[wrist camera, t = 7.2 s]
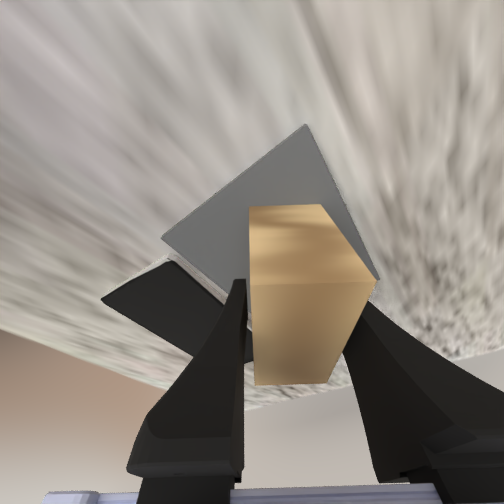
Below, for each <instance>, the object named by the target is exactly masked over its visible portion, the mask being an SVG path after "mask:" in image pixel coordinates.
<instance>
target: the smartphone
mask: <svg viewBox="0 0 504 504" xmlns="http://www.w3.org/2000/svg"><path fill="white" fill-rule="evenodd" d="M163 259H164V260H163ZM101 300H102V302H103V303H104V304H106V305H107V306H109V307H111V308H112V309H114V310H116V311H117V312H119V313H121V314H122V315H124V316H126V317H127V318H129V319H131V320H132V321H134V322H136V323H137V324H139V325H141V326H143V327H144V328H146V329H148V330H149V331H151V332H153V333H154V334H156V335H158V336H159V337H161V338H163V339H164V340H166V341H168V342H169V343H171V344H173V345H174V346H176V347H178V348H179V349H181V350H183V351H184V352H186V353H188V354H189V355H191V356H193V357H194V356H195V354H196V353H197V352H198V350H199V349H200V347H201V346H202V344H203V343H204V341H205V340H206V338H207V336H208V335H209V333H210V331H211V330H212V328H213V326H214V324H215V322H216V321H217V319H218V317H219V315H220V313H221V311H222V309H223V307H224V305H225V302H226V299H225V298H223V297H222V296H221V295H220V294H219V293H218V292H217V291H216V290H214V289H213V288H212V287H211V286H210V285H209V284H208V283H207V282H205V281H204V280H203V279H202V278H201V277H200V276H199V275H198V274H196V273H195V272H194V271H193V270H192V269H191V268H190V267H189V266H188V265H186V264H185V263H184V262H183V261H182V260H181V259H180V258H179V257H177V256H175V255H173V254H167V255H165V256H163V257H162V258H160V259H159V260H157V261H155V262H154V263H152V264H151V265H149V266H147V267H146V268H144V269H143V270H141V271H139V272H138V273H136V274H135V275H133V276H131V277H130V278H128V279H127V280H125V281H123V282H122V283H120V284H119V285H117V286H115V287H114V288H112V289H111V290H109V291H107V292H106V293H105V294H104V295H103V297H102V298H101ZM252 361H254V357H253V336H252V322H250V321H249V320H248V322H247V334H246V346H245V358H244V364H245V363H248V362H252Z"/></svg>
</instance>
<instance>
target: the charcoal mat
mask: <svg viewBox="0 0 504 504" xmlns="http://www.w3.org/2000/svg"><path fill="white" fill-rule="evenodd" d="M309 204H321V205H322V207H323V208H324V209H325V211H326V212H327V214H328V215H329V216H330V218H331V219H332V220H333V222H334V223H335V224H336V226H337V227H338V229H339V230H340V231H341V233H342V234H343V235H344V237H345V238H346V240H347V241H348V242H349V244H350V245H351V246H352V248H353V249H354V250H355V252H356V253H357V255H358V256H359V257H360V259H361V260H362V261H363V263H364V264H365V266H366V267H367V268H368V270H369V271H370V272H371V274H372V275H373V276H374V278H375V279H376V281H378V280H380V278H379V276H378V274H377V271H376V269H375V267H374V265H373V263H372V261H371V259H370V257H369V254H368V252H367V250H366V248H365V246H364V244H363V242H362V240H361V238H360V235H359V233H358V231H357V229H356V227H355V225H354V223H353V221H352V218H351V216H350V214H349V212H348V210H347V208H346V206H345V204H344V201H343V199H342V197H341V195H340V193H339V191H338V189H337V187H336V185H335V182H334V180H333V178H332V176H331V174H330V172H329V170H328V168H327V165H326V163H325V161H324V159H323V157H322V155H321V153H320V151H319V149H318V146H317V144H316V142H315V140H314V138H313V136H312V134H311V132H310V129H309V127H308V125H307V124H304V125H303V126H302V127H300V128H299V129H298V130H297V131H295V132H294V133H293V134H292V135H290V136H289V137H288V138H286V139H285V140H284V141H283V142H281V143H280V144H279V145H277V146H276V147H275V148H274V149H272V150H271V151H270V152H268V153H267V154H266V155H265V156H263V157H262V158H261V159H260V160H258V161H257V162H256V163H254V164H253V165H252V166H251V167H249V168H248V169H247V170H245V171H244V172H243V173H242V174H240V175H239V176H238V177H236V178H235V179H234V180H233V181H231V182H230V183H229V184H228V185H226V186H225V187H224V188H222V189H221V190H220V191H219V192H217V193H216V194H215V195H213V196H212V197H211V198H210V199H208V200H207V201H206V202H204V203H203V204H202V205H201V206H199V207H198V208H197V209H195V210H194V211H193V212H192V213H190V214H189V215H188V216H187V217H185V218H184V219H183V220H181V221H180V222H179V223H178V224H176V225H175V226H174V227H172V228H171V229H170V230H169V231H167V232H166V233H165V234H163V236H162V237H161V239H162V240H163V241H165V242H166V243H167V244H168V245H169V246H171V247H172V248H173V249H174V250H175V251H177V252H178V253H179V254H180V255H182V256H183V257H184V258H185V259H186V260H188V261H189V262H190V263H191V264H192V265H194V266H195V267H196V268H197V269H198V270H200V271H201V272H202V273H203V274H205V275H206V276H207V277H208V278H209V279H211V280H212V281H213V282H214V283H215V284H217V285H218V286H219V287H220V288H221V289H223V290H224V291H225V292H226V293H228V294H229V293H230V290H231V287H232V284H233V280H234V279H246V286H247V302H248V311H249V312H251V294H250V244H249V206H279V205H309Z"/></svg>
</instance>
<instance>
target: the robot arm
mask: <svg viewBox="0 0 504 504" xmlns="http://www.w3.org/2000/svg"><path fill="white" fill-rule="evenodd" d="M247 322H248V302H247V286H246V279H234V280H233V284H232V287H231V290H230V293H229V295H228V298H227V300H226V302H225V305H224V307H223V309H222V311H221V313H220V315H219V317H218V319H217V321H216V322H215V324H214V326H213V328H212V330H211V331H210V333H209V335H208V336H207V338H206V340H205V341H204V343H203V344H202V346H201V347H200V349H199V350H198V352H197V353H196V354H195V356H194V357H193V359H192V360H191V362H190V363H189V364H188V366H187V367H186V368H185V369H184V371H183V372H182V373H181V375H180V376H179V377H178V378H177V380H176V381H175V382H174V383H173V385H172V386H171V387H170V388H169V389H168V391H167V392H166V393H165V394H164V395H163V396H162V397H161V399H160V400H159V401H158V402H157V403H156V405H155V406H154V407H153V408H152V409H151V410H150V411H149V412H148V414H147V415H146V417H145V419H144V421H143V424H142V426H141V428H140V430H139V433H138V435H137V437H136V440H135V442H134V445H133V449H132V452H131V455H130V458H129V461H128V464H127V467H126V469H127V472H128V473H130V474H133V475H136V476H139V477H142V478H143V481H142V484H141V488H140V491H139V492H131V493H98V492H96V491H55V492H49V493H47V494H46V495H45V497H44V499H43V501H42V503H41V504H504V392H502V391H500V390H499V389H497V388H495V387H493V386H491V385H489V384H488V383H485V382H484V381H482V380H480V379H479V378H476V377H475V376H473V375H472V374H470V373H468V372H466V371H465V370H463V369H462V368H460V367H458V366H456V365H455V364H453V363H452V362H450V361H448V360H447V359H445V358H444V357H442V356H441V355H439V354H438V353H436V352H434V351H433V350H431V349H430V348H428V347H427V346H425V345H424V344H422V343H421V342H420V341H418V340H417V339H415V338H414V337H413V336H411V335H410V334H409V333H407V332H406V331H404V330H403V329H402V328H400V327H399V326H398V325H397V324H395V323H394V322H393V321H392V320H390V319H389V318H388V317H387V316H385V315H384V314H383V313H382V312H381V311H379V310H378V309H377V308H376V307H375V306H374V305H373V304H371V303H370V302H369V301H368V300H367V303H366V305H365V307H364V309H363V311H362V313H361V315H360V317H359V319H358V321H357V323H356V325H355V327H354V329H353V331H352V333H351V335H350V337H349V339H348V341H347V343H346V345H345V347H344V349H343V351H342V353H343V355H344V358H345V361H346V363H347V366H348V370H349V373H350V376H351V380H352V383H353V386H354V390H355V393H356V397H357V401H358V404H359V408H360V412H361V416H362V420H363V424H364V428H365V432H366V436H367V441H368V445H369V450H370V454H371V459H372V464H373V468H374V471H375V474H376V477H377V480H378V482H379V483H405V482H410V484H391V485H358V486H324V487H294V488H293V487H292V488H259V489H234V484H235V483H241V474H242V470H243V469H244V358H245V346H246V334H247Z"/></svg>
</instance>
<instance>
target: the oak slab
mask: <svg viewBox="0 0 504 504" xmlns="http://www.w3.org/2000/svg"><path fill="white" fill-rule="evenodd" d="M249 244H250V294H251V315H252V336H253V357H254V379H255V386H258V385H290V384H321V383H327V381H328V379H329V377H330V375H331V373H332V371H333V369H334V367H335V365H336V363H337V361H338V359H339V357H340V355H341V353H342V351H343V349H344V347H345V345H346V343H347V341H348V339H349V337H350V335H351V333H352V331H353V329H354V327H355V325H356V323H357V321H358V319H359V317H360V315H361V313H362V311H363V309H364V307H365V305H366V303H367V300H368V298H369V296H370V294H371V292H372V290H373V288H374V286H375V284H376V282H377V281H376V279H375V278H374V276H373V275H372V274H371V272H370V271H369V270H368V268H367V267H366V266H365V264H364V263H363V261H362V260H361V259H360V257H359V256H358V255H357V253H356V252H355V250H354V249H353V248H352V246H351V245H350V244H349V242H348V241H347V240H346V238H345V237H344V235H343V234H342V233H341V231H340V230H339V229H338V227H337V226H336V224H335V223H334V222H333V220H332V219H331V218H330V216H329V215H328V214H327V212H326V211H325V209H324V208H323V207H322V205H321V204H309V205H279V206H249Z"/></svg>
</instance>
